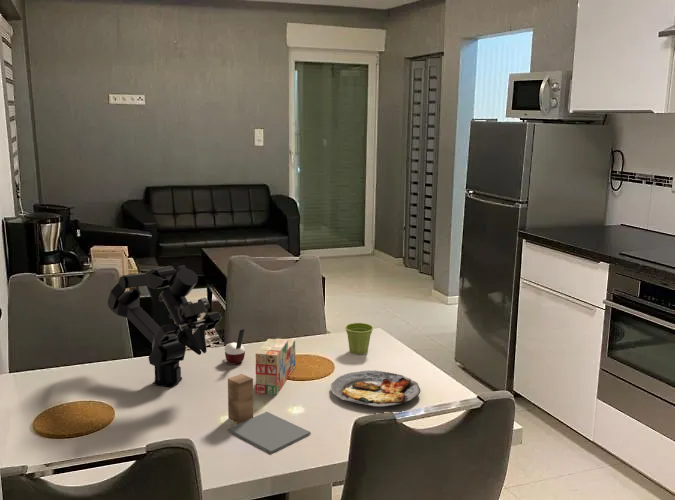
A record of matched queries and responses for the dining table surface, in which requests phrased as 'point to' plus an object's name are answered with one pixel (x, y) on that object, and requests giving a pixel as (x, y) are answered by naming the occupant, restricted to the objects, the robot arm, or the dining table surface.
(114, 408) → the dining table surface
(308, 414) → the dining table surface
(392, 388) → the food plate
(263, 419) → the mat
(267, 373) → the stack of blocks
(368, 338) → the plant pot
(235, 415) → the walnut block
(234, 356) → the cocoa
